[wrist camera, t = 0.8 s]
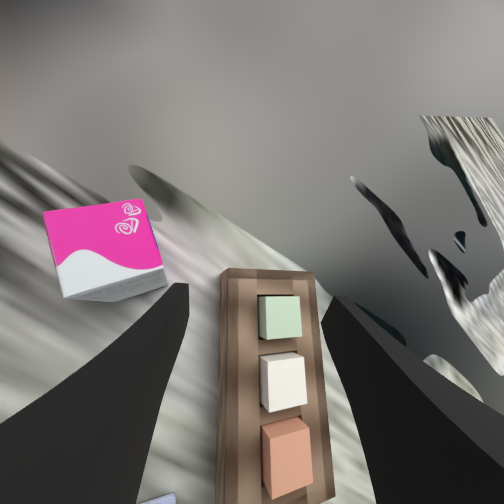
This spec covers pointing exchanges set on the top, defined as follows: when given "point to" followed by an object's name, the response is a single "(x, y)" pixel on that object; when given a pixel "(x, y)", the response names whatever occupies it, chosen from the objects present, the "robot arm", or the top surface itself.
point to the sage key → (279, 317)
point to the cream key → (282, 380)
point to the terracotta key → (285, 456)
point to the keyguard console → (247, 388)
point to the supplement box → (104, 251)
